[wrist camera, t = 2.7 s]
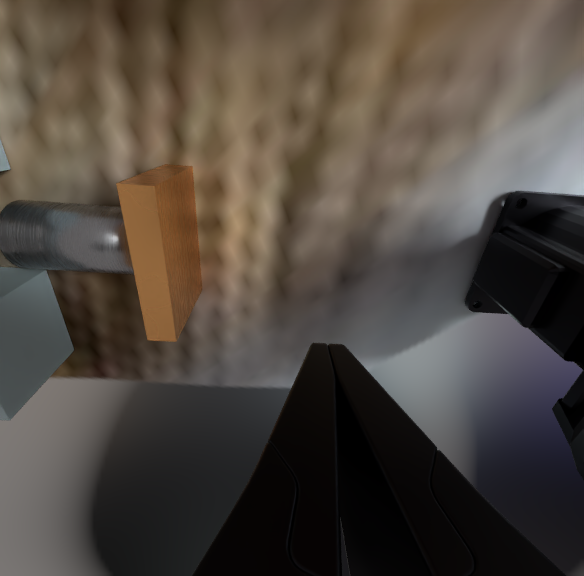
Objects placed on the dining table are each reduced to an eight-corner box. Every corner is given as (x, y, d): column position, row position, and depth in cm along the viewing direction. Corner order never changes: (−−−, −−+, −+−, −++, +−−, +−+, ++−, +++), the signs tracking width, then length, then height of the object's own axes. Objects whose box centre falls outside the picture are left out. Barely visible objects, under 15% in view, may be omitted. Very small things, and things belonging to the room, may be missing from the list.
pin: (192, 166, 14) (154, 186, 10) (202, 289, 17) (176, 341, 13) (27, 154, 13) (-81, 169, 10) (68, 281, 17) (-1, 333, 13)
